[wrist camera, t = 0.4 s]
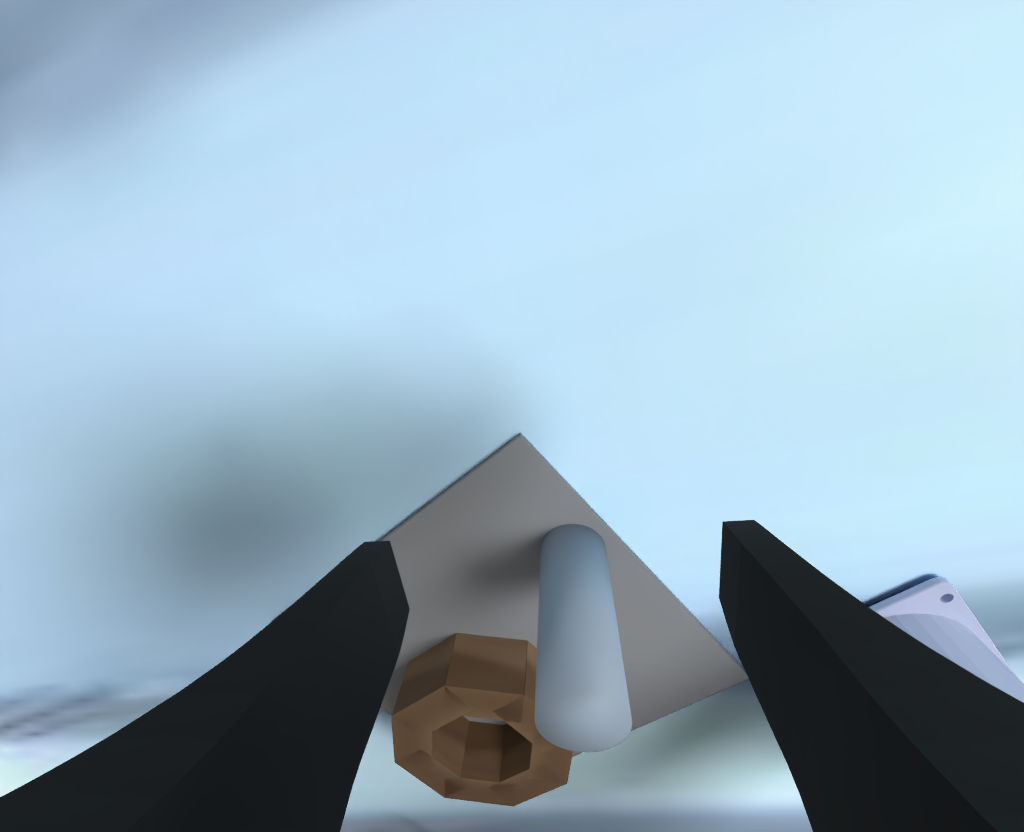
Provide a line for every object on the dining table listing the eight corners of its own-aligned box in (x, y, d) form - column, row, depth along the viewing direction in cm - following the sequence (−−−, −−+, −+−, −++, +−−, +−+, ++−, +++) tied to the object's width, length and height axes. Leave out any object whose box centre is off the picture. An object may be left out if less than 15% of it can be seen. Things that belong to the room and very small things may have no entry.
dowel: (619, 555, 22) (651, 729, 15) (568, 585, 23) (575, 763, 16) (578, 512, 21) (591, 675, 14) (527, 545, 22) (514, 714, 15)
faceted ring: (602, 707, 26) (608, 766, 23) (484, 763, 29) (477, 821, 26) (493, 610, 24) (485, 662, 21) (377, 681, 27) (357, 735, 24)
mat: (748, 672, 25) (750, 678, 24) (494, 786, 31) (494, 791, 30) (520, 432, 20) (520, 436, 20) (273, 620, 26) (270, 625, 26)
